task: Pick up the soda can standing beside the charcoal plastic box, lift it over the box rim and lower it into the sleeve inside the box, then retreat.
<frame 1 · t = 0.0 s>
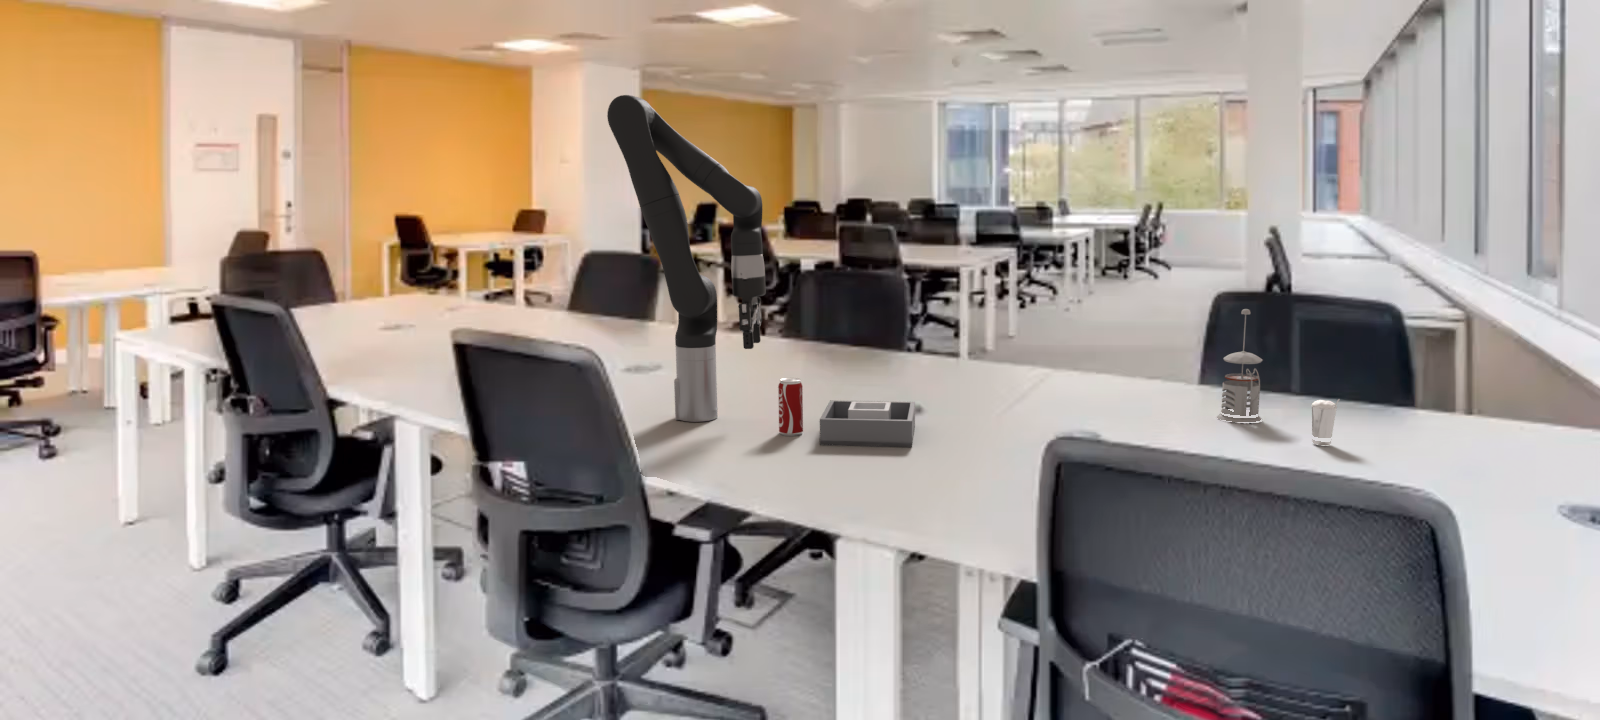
hand: (752, 345, 235), 17 cm above the table, tool pointing down, fingers open, 8 cm apart
milkshake: (1323, 446, 208), on the table
box: (869, 435, 221), on the table
french press: (1241, 420, 231), on the table
soda can: (791, 434, 224), on the table
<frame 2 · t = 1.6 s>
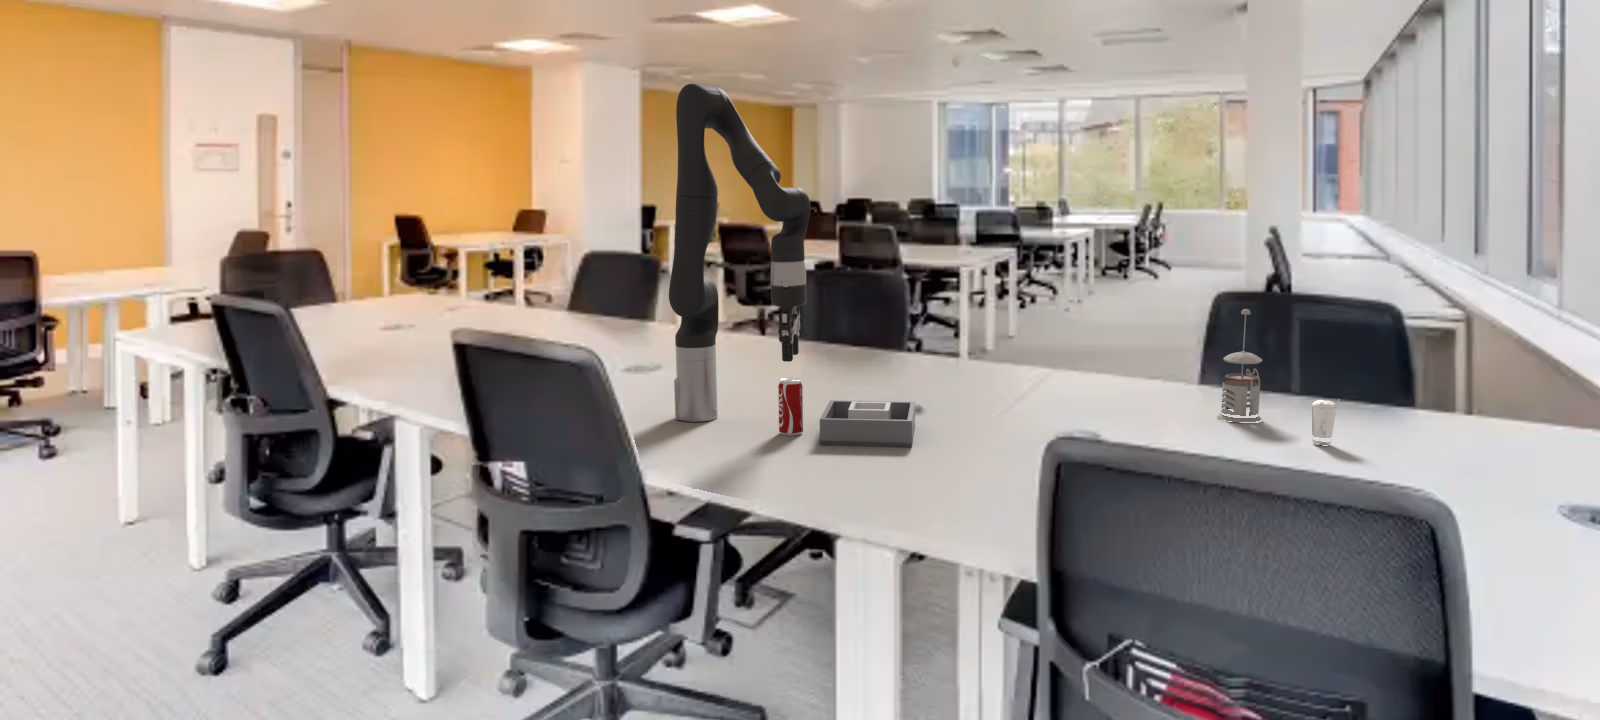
hand: (790, 357, 221), 17 cm above the table, tool pointing down, fingers open, 8 cm apart
nothing on the table moved.
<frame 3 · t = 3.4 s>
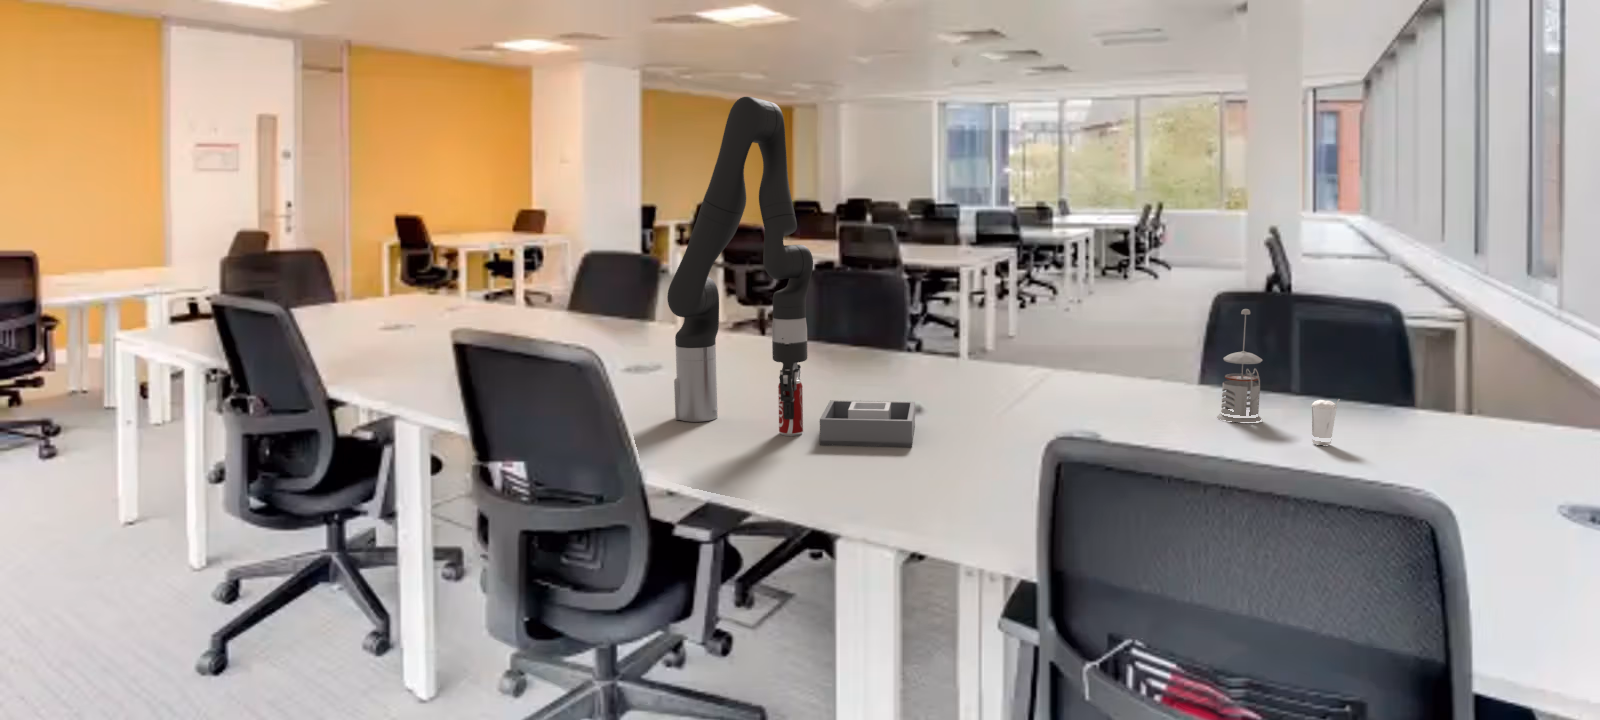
hand: (790, 415, 223), 4 cm above the table, tool pointing down, fingers closed on soda can, 5 cm apart
soda can: (791, 434, 224), on the table, touching gripper
everything else where it was.
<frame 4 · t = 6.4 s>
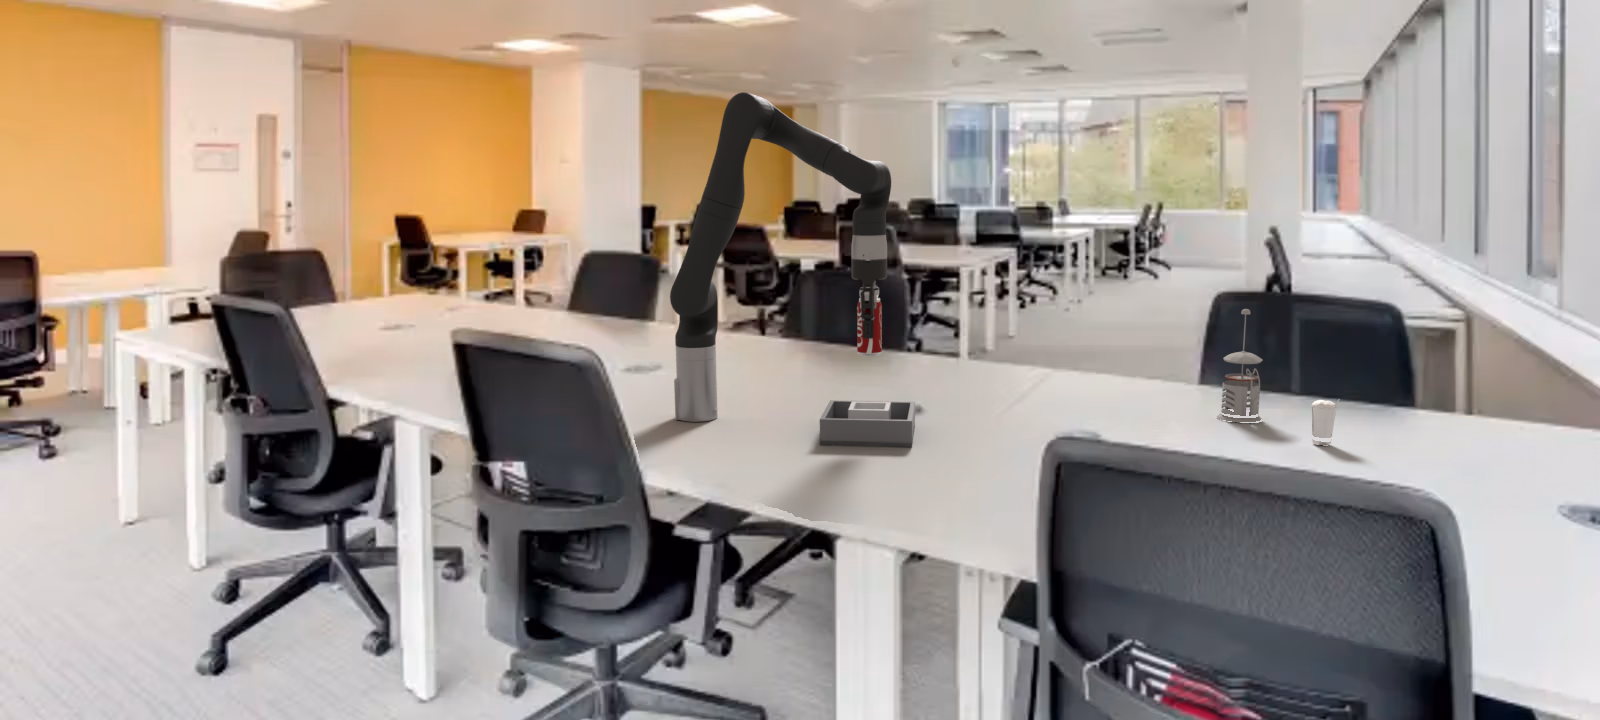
hand: (869, 335, 220), 21 cm above the table, tool pointing down, fingers closed on soda can, 5 cm apart
soda can: (869, 355, 220), point 17 cm above the table, touching gripper
everything else where it was.
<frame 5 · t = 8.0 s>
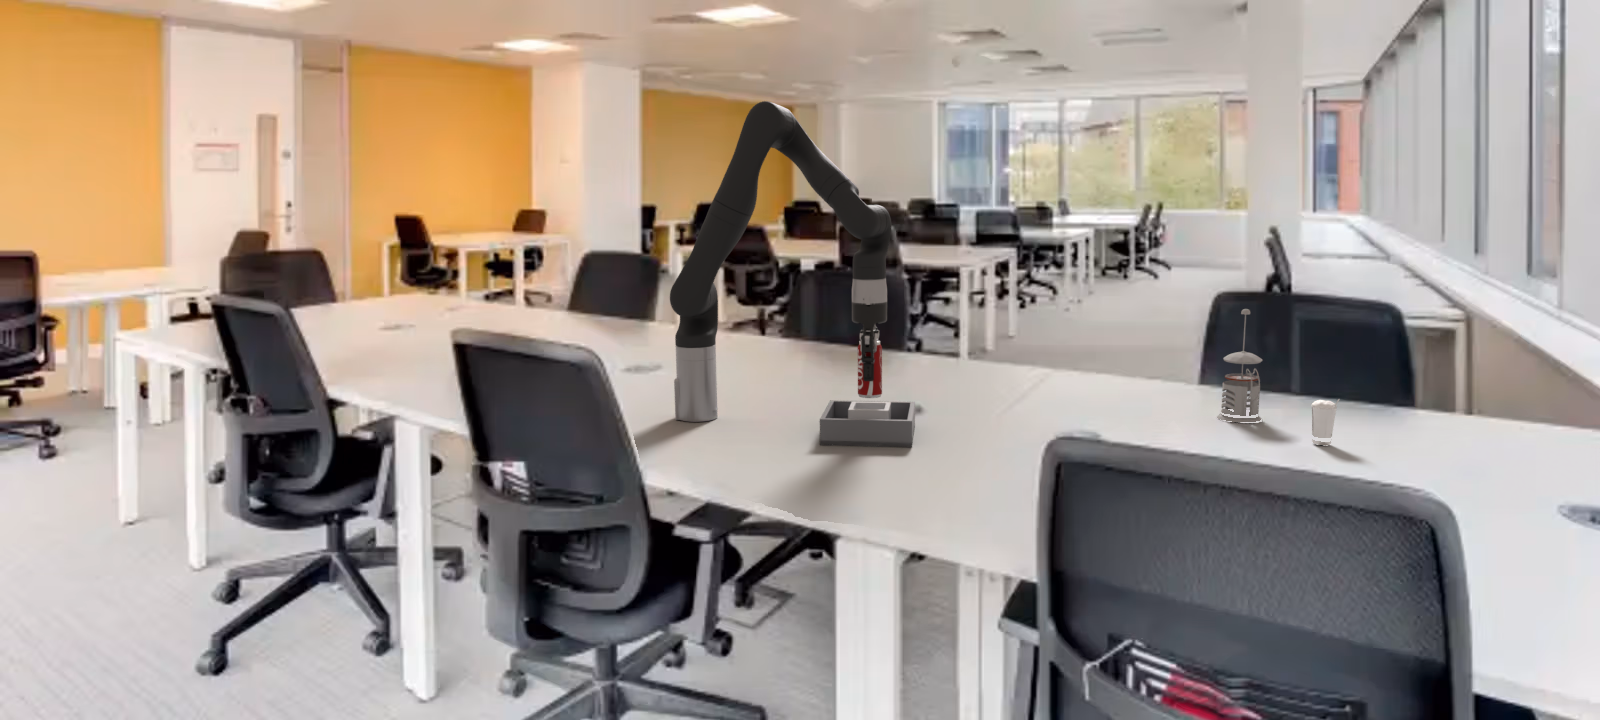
hand: (869, 378, 221), 12 cm above the table, tool pointing down, fingers closed on soda can, 5 cm apart
soda can: (869, 396, 222), point 8 cm above the table, touching gripper
everything else where it was.
when the fingers open (7 cm above the table, at t = 9.4 s): soda can drops 2 cm, resting on box.
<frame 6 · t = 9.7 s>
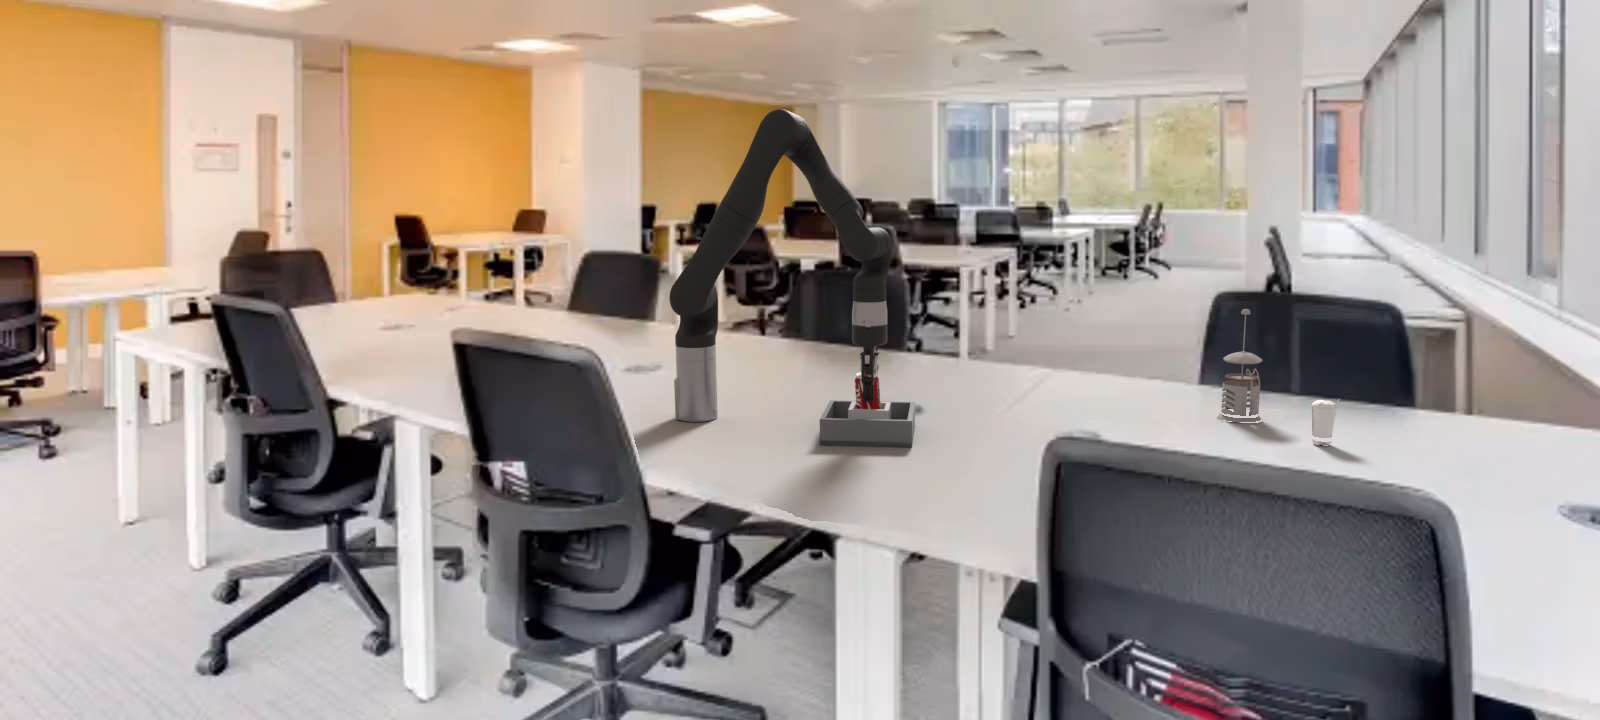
hand: (869, 397, 222), 8 cm above the table, tool pointing down, fingers open, 7 cm apart
soda can: (869, 428, 223), point 1 cm above the table, touching box
everything else where it was.
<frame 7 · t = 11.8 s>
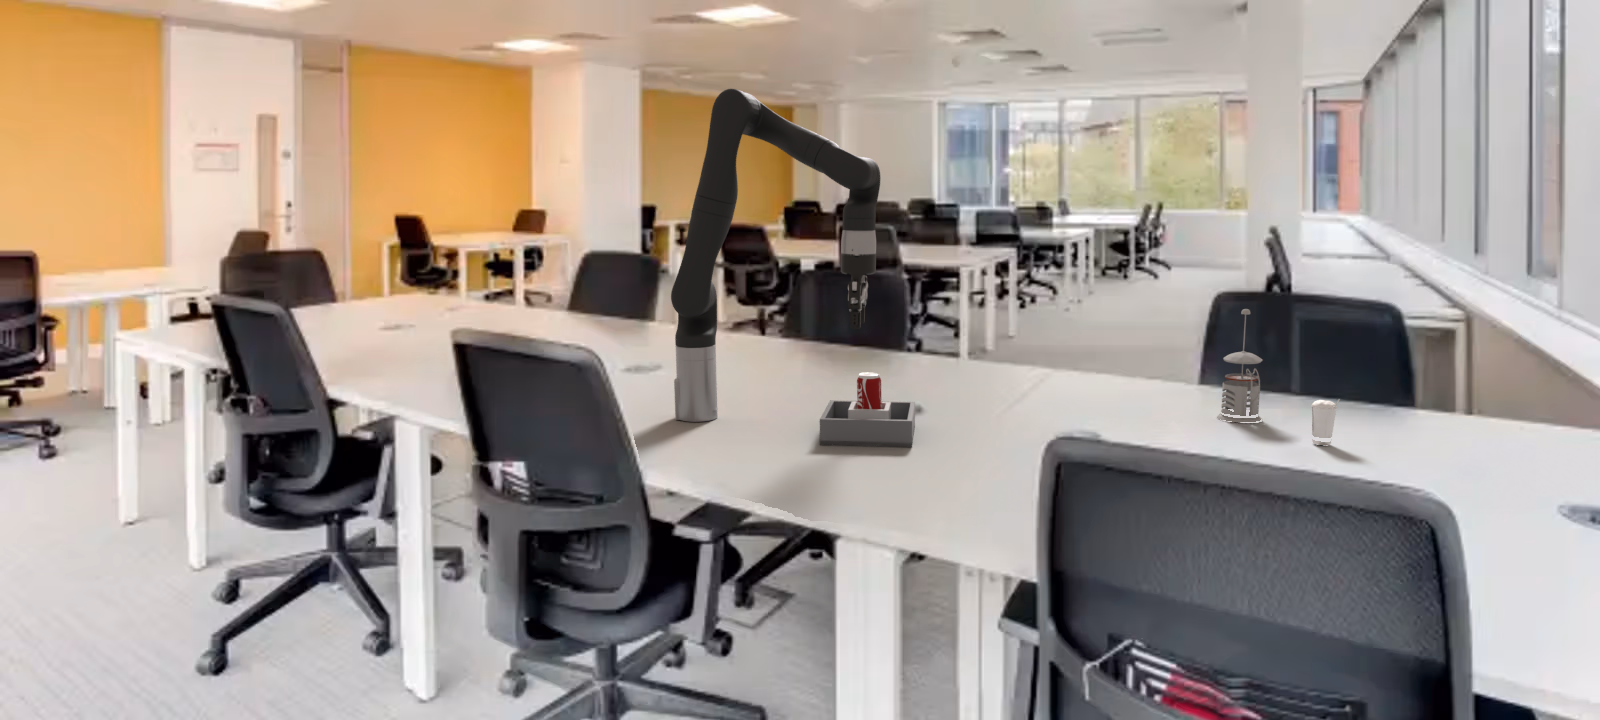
hand: (857, 326, 224), 23 cm above the table, tool pointing down, fingers open, 8 cm apart
nothing on the table moved.
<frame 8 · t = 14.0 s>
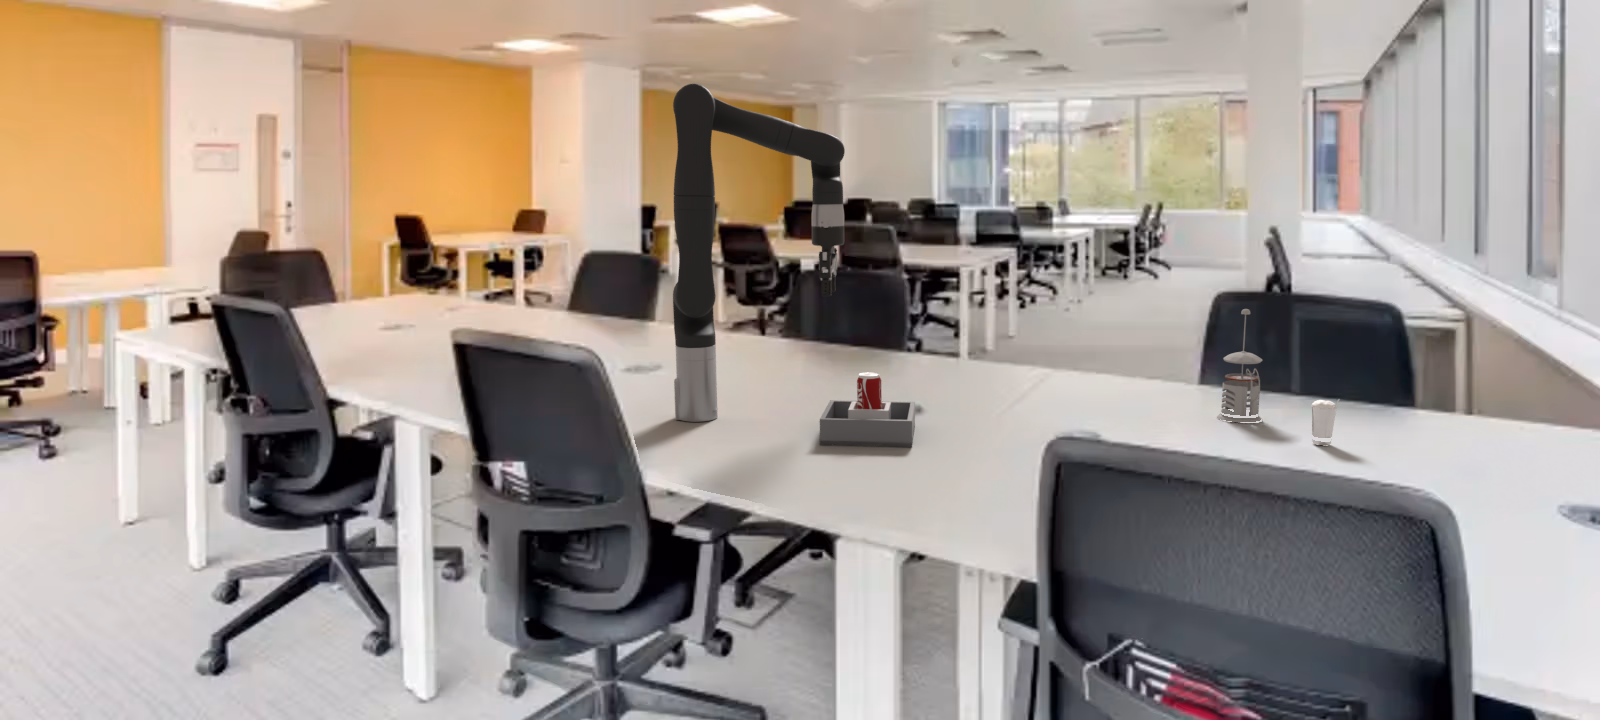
hand: (828, 294, 238), 28 cm above the table, tool pointing down, fingers open, 8 cm apart
nothing on the table moved.
at the end: soda can 0.1 cm from the target spot on the box, point 0.8 cm above the box's base; soda can tilted 1°; the gripper is holding nothing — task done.
